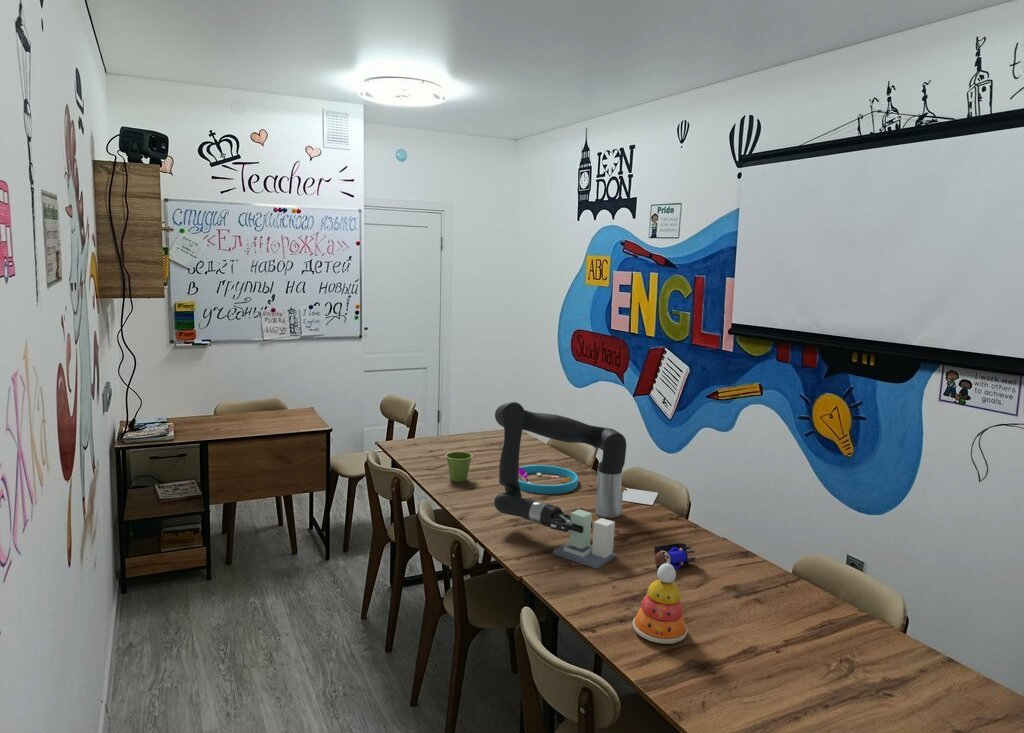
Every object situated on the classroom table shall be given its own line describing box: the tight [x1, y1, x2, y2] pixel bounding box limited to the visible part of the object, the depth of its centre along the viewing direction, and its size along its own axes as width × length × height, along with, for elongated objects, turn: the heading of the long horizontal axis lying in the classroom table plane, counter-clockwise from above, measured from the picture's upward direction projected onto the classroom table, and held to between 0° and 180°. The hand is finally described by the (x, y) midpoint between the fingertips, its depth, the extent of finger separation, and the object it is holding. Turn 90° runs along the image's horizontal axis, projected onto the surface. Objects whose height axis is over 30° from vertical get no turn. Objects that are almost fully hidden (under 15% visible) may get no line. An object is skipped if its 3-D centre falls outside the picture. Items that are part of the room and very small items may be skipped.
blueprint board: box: [552, 541, 617, 570], centre depth 233 cm, size 12×17×2 cm
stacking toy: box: [632, 563, 688, 645], centre depth 185 cm, size 14×14×20 cm
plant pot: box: [445, 451, 474, 483], centre depth 306 cm, size 12×12×11 cm
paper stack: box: [622, 487, 659, 506], centre depth 300 cm, size 23×25×1 cm
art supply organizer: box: [518, 464, 579, 495], centre depth 308 cm, size 30×30×6 cm
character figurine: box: [653, 542, 697, 571], centre depth 227 cm, size 8×7×15 cm
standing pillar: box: [592, 517, 616, 558], centre depth 232 cm, size 5×5×11 cm
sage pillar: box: [568, 509, 593, 549], centre depth 233 cm, size 5×5×11 cm
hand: (587, 527), depth 232 cm, fingers closed on sage pillar, 5 cm apart
